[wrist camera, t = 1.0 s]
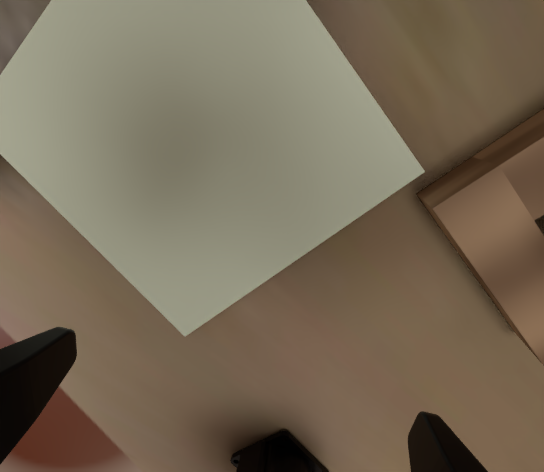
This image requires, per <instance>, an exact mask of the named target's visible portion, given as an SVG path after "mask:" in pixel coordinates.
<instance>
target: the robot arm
mask: <svg viewBox="0 0 544 472" xmlns="http://www.w3.org/2000/svg"><path fill="white" fill-rule="evenodd" d="M76 356H77V349H76V335H75V332H74V331H73V330H72V329H67V328H63V327H56V328H53V329H50V330H48V331H45V332H43V333H40V334H38V335H35V336H32V337H30V338H27V339H25V340H22V341H20V342H17V343H15V344H12V345H10V346H7V347H4V348H2V349H0V464H1V463H2V462H3V460H4V459H5V458H6V457H7V455H8V454H9V453H10V452H11V450H12V449H13V448H14V447H15V446H16V444H17V443H18V442H19V441H20V439H21V438H22V437H23V436H24V434H25V433H26V432H27V431H28V429H29V428H30V427H31V425H32V424H33V423H34V422H35V420H36V419H37V418H38V416H39V415H40V413H41V412H42V410H43V409H44V407H45V406H46V404H47V403H48V401H49V400H50V398H51V397H52V395H53V394H54V392H55V391H56V389H57V388H58V386H59V385H60V383H61V382H62V380H63V379H64V377H65V376H66V374H67V373H68V371H69V370H70V368H71V367H72V365H73V364H74V362H75V360H76ZM408 449H409V458H410V466H411V472H488V471H487V470H486V469H485V468H484V467H483V466H482V464H481V463H480V462H479V461H478V460H477V459H476V458H475V456H474V455H473V454H472V453H471V452H470V451H469V450H468V448H467V447H466V446H465V445H464V444H463V443H462V442H461V440H460V439H459V438H458V437H457V436H456V435H455V434H454V432H453V431H452V430H451V429H450V428H449V427H448V426H447V424H446V423H445V422H444V421H443V420H442V419H441V418H440V417H439V416H438V415H436V414H432V413H428V412H420V413H419V414H418V415H417V417H416V419H415V421H414V424H413V426H412V428H411V430H410V432H409V435H408ZM231 463H232V464H233V465H234V466H235V467H236V468H237V472H328V471H327V470H326V469H325V468H324V467H323V466H322V465H321V464H320V463H319V462H318V461H317V460H316V459H315V458H314V457H313V456H312V455H311V454H310V453H309V452H308V451H307V450H306V449H305V448H304V447H303V446H302V445H301V444H300V443H299V442H298V441H297V440H296V439H295V438H294V437H293V436H292V435H291V434H290V433H289V432H287V431H280V432H278V433H276V434H274V435H272V436H270V437H267V438H265V439H263V440H261V441H259V442H257V443H255V444H253V445H251V446H249V447H247V448H245V449H243V450H240V451H238V452H236V453H234V454H233V455H232V457H231Z"/></svg>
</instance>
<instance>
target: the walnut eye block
mask: <svg viewBox="0 0 544 472" xmlns="http://www.w3.org/2000/svg"><path fill="white" fill-rule="evenodd" d="M417 196H418V197H419V199H420V200H421V201H422V203H423V204H424V206H425V207H426V208H427V210H428V211H429V213H430V214H431V215H432V217H433V218H434V220H435V221H436V222H437V224H438V225H439V227H440V228H441V229H442V231H443V232H444V234H445V235H446V236H447V238H448V239H449V241H450V242H451V243H452V245H453V246H454V248H455V249H456V250H457V252H458V253H459V255H460V256H461V257H462V259H463V260H464V262H465V263H466V265H467V266H468V267H469V269H470V270H471V272H472V273H473V274H474V276H475V277H476V279H477V280H478V281H479V283H480V284H481V286H482V287H483V288H484V290H485V291H486V293H487V294H488V295H489V297H490V298H491V300H492V301H493V302H494V304H495V305H496V307H497V308H498V309H499V311H500V312H501V314H502V315H503V316H504V318H505V319H506V321H507V322H508V323H509V325H510V326H511V328H512V329H513V330H514V332H515V333H516V334H517V335H518V337H519V338H520V339H521V340H522V341H523V342H524V343H525V345H526V346H527V347H528V348H529V349H530V350H531V352H532V353H533V354H534V355H535V356H536V357H537V358H538V360H539V361H540V362H541V363H542V364H543V365H544V236H543V234H542V232H541V231H540V229H539V228H538V226H537V224H536V223H535V221H534V220H536V219H537V218H539V217H541V216H543V215H544V109H543V110H541V111H540V112H538V113H537V114H535V115H534V116H532V117H531V118H529V119H528V120H526V121H525V122H523V123H522V124H520V125H519V126H517V127H516V128H514V129H513V130H511V131H510V132H508V133H507V134H505V135H504V136H502V137H501V138H499V139H498V140H496V141H495V142H493V143H492V144H490V145H489V146H487V147H486V148H484V149H483V150H481V151H480V152H478V153H477V154H475V155H474V156H472V157H471V158H469V159H468V160H466V161H465V162H463V163H462V164H460V165H459V166H457V167H456V168H454V169H453V170H451V171H450V172H449V173H447V174H446V175H444V176H443V177H441V178H440V179H438V180H437V181H435V182H434V183H432V184H431V185H429V186H428V187H426V188H425V189H423V190H422V191H420V192H419V193H417Z"/></svg>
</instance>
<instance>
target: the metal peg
mask: <svg viewBox="0 0 544 472" xmlns="http://www.w3.org/2000/svg"><path fill="white" fill-rule="evenodd" d="M535 223H536V224H537V226H538V228H539V229H540V231H541V232H542V234H543V235H544V215H543V216H541V217H539V218H537V219H536V220H535Z"/></svg>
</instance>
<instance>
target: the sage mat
mask: <svg viewBox="0 0 544 472" xmlns="http://www.w3.org/2000/svg"><path fill="white" fill-rule="evenodd" d="M0 154H1V155H2V156H3V157H4V158H5V159H6V160H7V161H8V162H9V163H10V164H11V165H12V166H13V167H14V168H15V169H16V170H17V171H18V172H19V173H20V174H21V175H22V176H23V177H24V178H25V179H26V180H27V181H28V182H29V183H30V184H31V185H32V186H33V187H34V188H35V189H36V190H37V191H38V192H39V193H40V194H41V195H42V196H43V197H44V198H45V199H46V200H47V201H48V202H49V203H50V204H51V205H52V206H53V207H54V208H55V209H56V210H57V211H58V212H59V213H60V214H61V215H62V216H63V217H64V218H65V219H66V220H67V221H68V222H69V223H70V224H71V225H72V226H73V227H74V228H75V229H77V230H78V231H79V232H80V233H81V234H82V235H83V236H84V237H85V238H86V239H87V240H88V241H89V242H90V243H91V244H92V245H93V246H94V247H95V248H96V249H97V250H98V251H99V252H100V253H101V254H102V255H103V256H104V257H105V258H106V259H107V260H108V261H109V262H110V263H111V264H112V265H113V266H114V267H115V268H116V269H117V270H118V271H119V272H120V273H121V274H122V275H123V276H124V277H125V278H126V279H127V280H128V281H129V282H130V283H131V284H132V285H133V286H134V287H135V288H136V289H137V290H138V291H139V292H140V293H141V294H142V295H143V296H144V297H145V298H146V299H147V300H148V301H149V302H150V303H151V304H152V305H153V306H154V307H155V308H156V309H157V310H158V311H159V312H160V313H161V314H162V315H163V316H164V317H165V318H166V319H167V320H168V321H170V322H171V323H172V324H173V325H174V326H175V327H176V328H177V329H178V330H179V331H180V332H181V333H182V334H183V335H184V336H187V335H188V334H190V333H191V332H192V331H194V330H195V329H197V328H198V327H200V326H201V325H203V324H204V323H206V322H207V321H208V320H210V319H211V318H213V317H214V316H216V315H217V314H219V313H220V312H222V311H223V310H224V309H226V308H227V307H229V306H230V305H232V304H233V303H235V302H236V301H238V300H239V299H241V298H242V297H243V296H245V295H246V294H248V293H249V292H251V291H252V290H254V289H255V288H257V287H258V286H259V285H261V284H262V283H264V282H265V281H267V280H268V279H270V278H271V277H273V276H274V275H275V274H277V273H278V272H280V271H281V270H283V269H284V268H286V267H287V266H289V265H290V264H291V263H293V262H294V261H296V260H297V259H299V258H300V257H302V256H303V255H305V254H306V253H307V252H309V251H310V250H312V249H313V248H315V247H316V246H318V245H319V244H321V243H322V242H324V241H325V240H326V239H328V238H329V237H331V236H332V235H334V234H335V233H337V232H338V231H340V230H341V229H342V228H344V227H345V226H347V225H348V224H350V223H351V222H353V221H354V220H356V219H357V218H358V217H360V216H361V215H363V214H364V213H366V212H367V211H369V210H370V209H372V208H373V207H374V206H376V205H377V204H379V203H380V202H382V201H383V200H385V199H386V198H388V197H389V196H390V195H392V194H393V193H395V192H396V191H398V190H399V189H401V188H402V187H404V186H405V185H406V184H408V183H409V182H411V181H412V180H414V179H415V178H417V177H418V176H420V175H421V174H423V173H424V172H425V171H424V170H423V168H422V167H421V165H420V164H419V162H418V161H417V160H416V158H415V157H414V155H413V154H412V152H411V151H410V150H409V148H408V147H407V145H406V144H405V142H404V141H403V139H402V138H401V137H400V135H399V134H398V132H397V131H396V129H395V128H394V126H393V125H392V124H391V122H390V121H389V119H388V118H387V116H386V115H385V114H384V112H383V111H382V109H381V108H380V106H379V105H378V103H377V102H376V101H375V99H374V98H373V96H372V95H371V93H370V92H369V90H368V89H367V88H366V86H365V85H364V83H363V82H362V80H361V79H360V77H359V76H358V75H357V73H356V72H355V70H354V69H353V67H352V66H351V65H350V63H349V62H348V60H347V59H346V57H345V56H344V54H343V53H342V52H341V50H340V49H339V47H338V46H337V44H336V43H335V41H334V40H333V39H332V37H331V36H330V34H329V33H328V31H327V30H326V29H325V27H324V26H323V24H322V23H321V21H320V20H319V18H318V17H317V16H316V14H315V13H314V11H313V10H312V8H311V7H310V5H309V4H308V3H307V1H306V0H51V2H50V3H49V5H48V6H47V8H46V9H45V11H44V12H43V13H42V15H41V16H40V18H39V19H38V21H37V22H36V24H35V25H34V27H33V28H32V30H31V31H30V32H29V34H28V35H27V37H26V38H25V40H24V41H23V43H22V44H21V46H20V47H19V49H18V50H17V51H16V53H15V54H14V56H13V57H12V59H11V60H10V62H9V63H8V65H7V66H6V68H5V69H4V70H3V72H2V73H1V75H0Z"/></svg>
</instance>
